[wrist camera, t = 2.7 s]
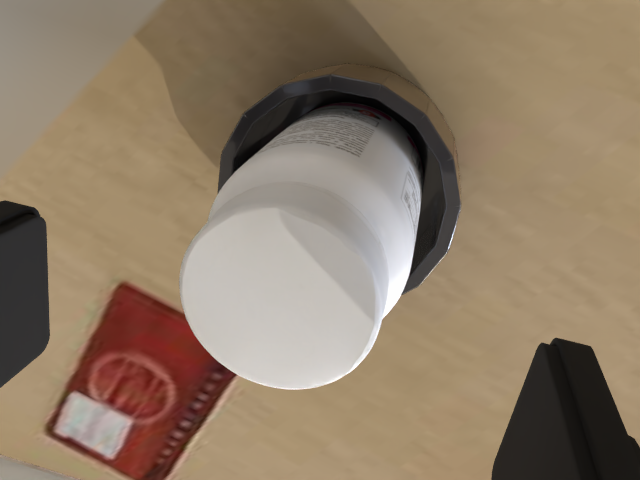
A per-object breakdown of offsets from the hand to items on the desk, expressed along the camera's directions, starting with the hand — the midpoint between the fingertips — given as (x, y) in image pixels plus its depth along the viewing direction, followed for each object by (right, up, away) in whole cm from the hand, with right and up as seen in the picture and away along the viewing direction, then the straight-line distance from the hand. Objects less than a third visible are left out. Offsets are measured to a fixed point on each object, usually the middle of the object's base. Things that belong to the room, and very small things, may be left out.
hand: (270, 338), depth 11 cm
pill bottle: (+2, +4, +8) cm, 9 cm away
